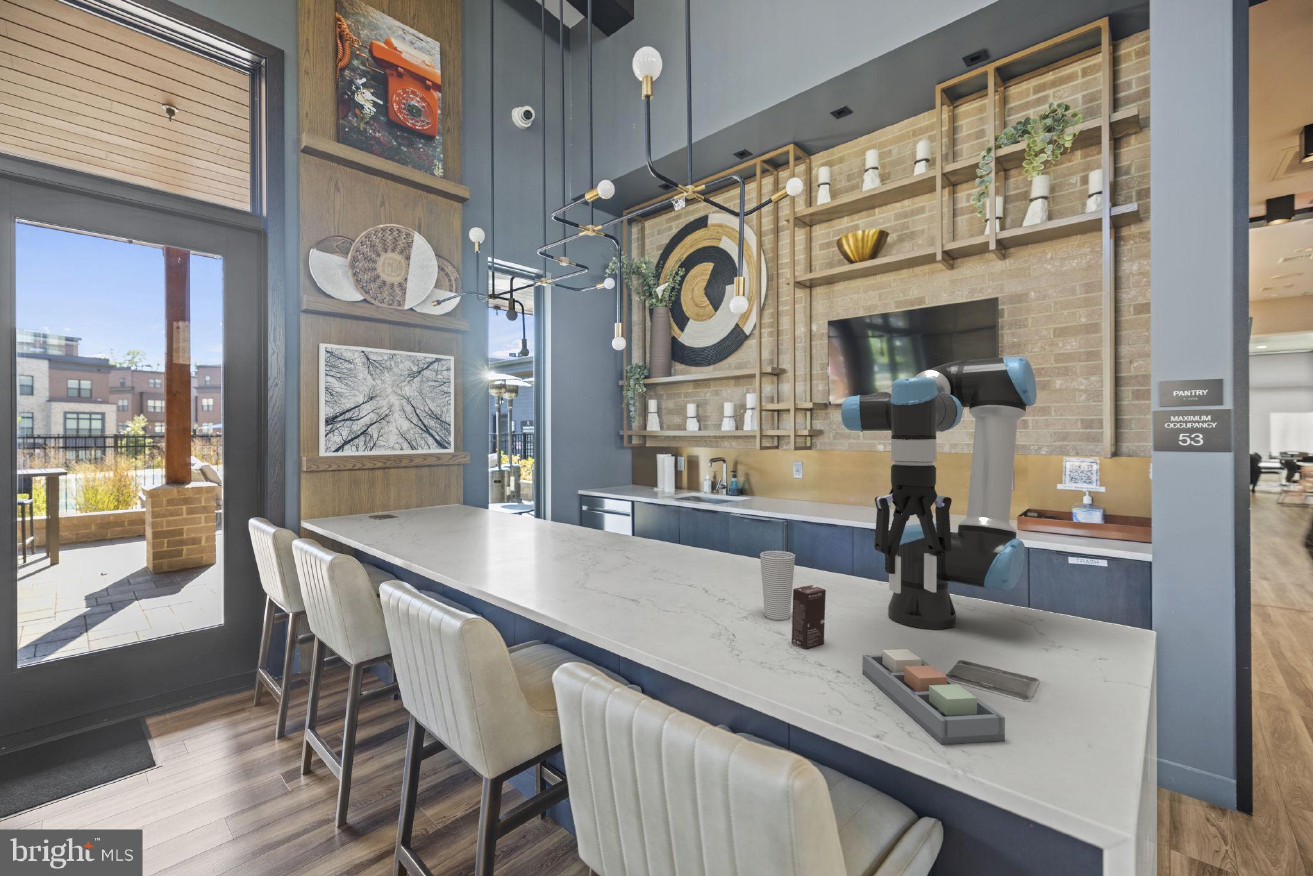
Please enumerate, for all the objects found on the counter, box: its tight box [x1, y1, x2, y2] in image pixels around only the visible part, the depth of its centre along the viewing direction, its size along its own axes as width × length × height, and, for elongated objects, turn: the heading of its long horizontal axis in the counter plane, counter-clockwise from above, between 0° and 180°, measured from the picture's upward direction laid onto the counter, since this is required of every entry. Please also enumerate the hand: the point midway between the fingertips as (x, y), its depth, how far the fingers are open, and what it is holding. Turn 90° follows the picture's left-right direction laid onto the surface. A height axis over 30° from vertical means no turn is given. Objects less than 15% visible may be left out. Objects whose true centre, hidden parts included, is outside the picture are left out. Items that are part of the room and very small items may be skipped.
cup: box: [759, 550, 796, 621], centre depth 143 cm, size 8×8×16 cm
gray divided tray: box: [862, 653, 1006, 745], centre depth 97 cm, size 10×25×4 cm, turn 6°
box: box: [791, 584, 827, 650], centre depth 124 cm, size 6×4×12 cm
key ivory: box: [882, 648, 923, 673], centre depth 105 cm, size 5×5×2 cm
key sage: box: [929, 683, 978, 716], centre depth 90 cm, size 5×5×2 cm
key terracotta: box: [904, 664, 948, 692], centre depth 97 cm, size 5×5×2 cm
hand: (912, 590), depth 105 cm, fingers open, 6 cm apart
